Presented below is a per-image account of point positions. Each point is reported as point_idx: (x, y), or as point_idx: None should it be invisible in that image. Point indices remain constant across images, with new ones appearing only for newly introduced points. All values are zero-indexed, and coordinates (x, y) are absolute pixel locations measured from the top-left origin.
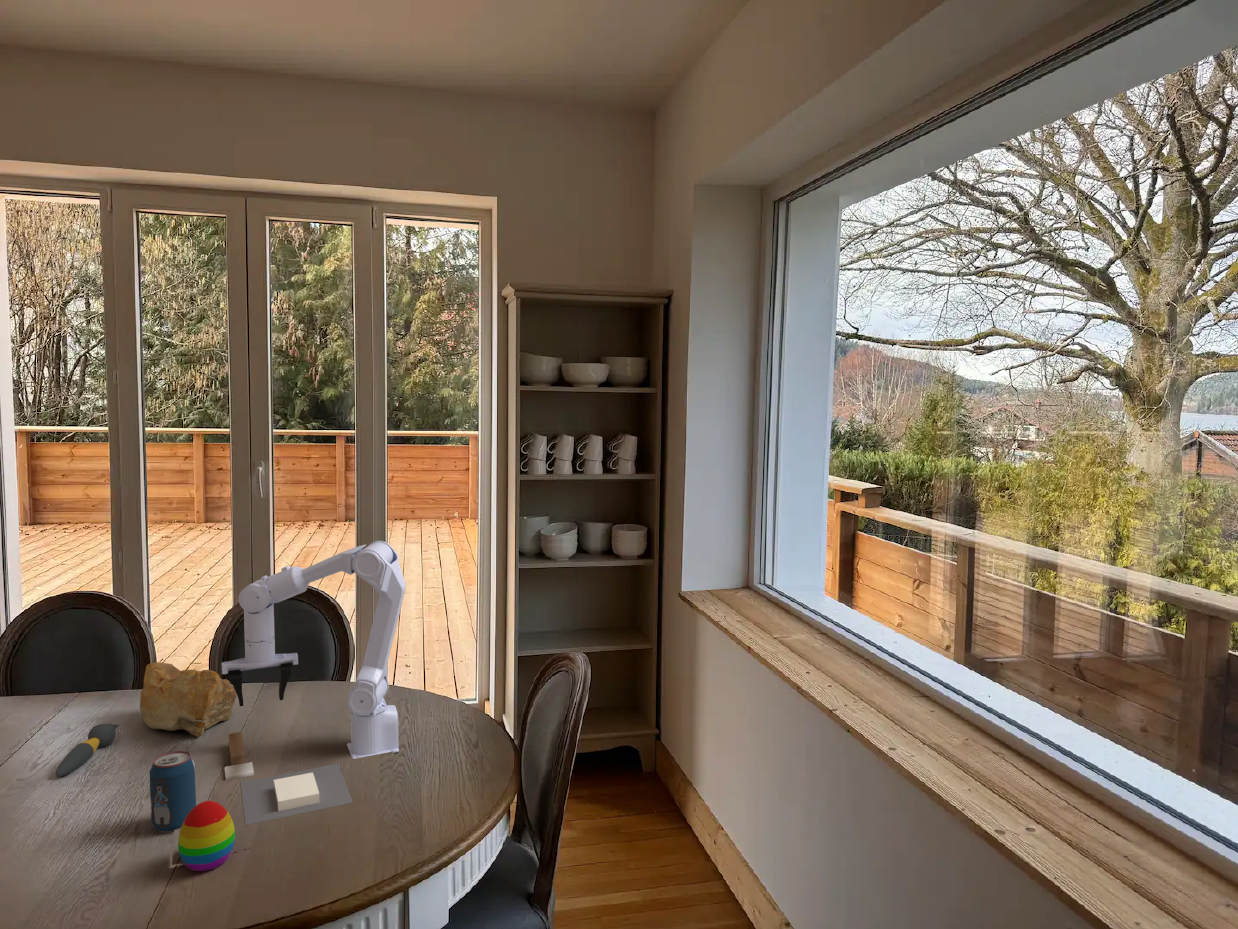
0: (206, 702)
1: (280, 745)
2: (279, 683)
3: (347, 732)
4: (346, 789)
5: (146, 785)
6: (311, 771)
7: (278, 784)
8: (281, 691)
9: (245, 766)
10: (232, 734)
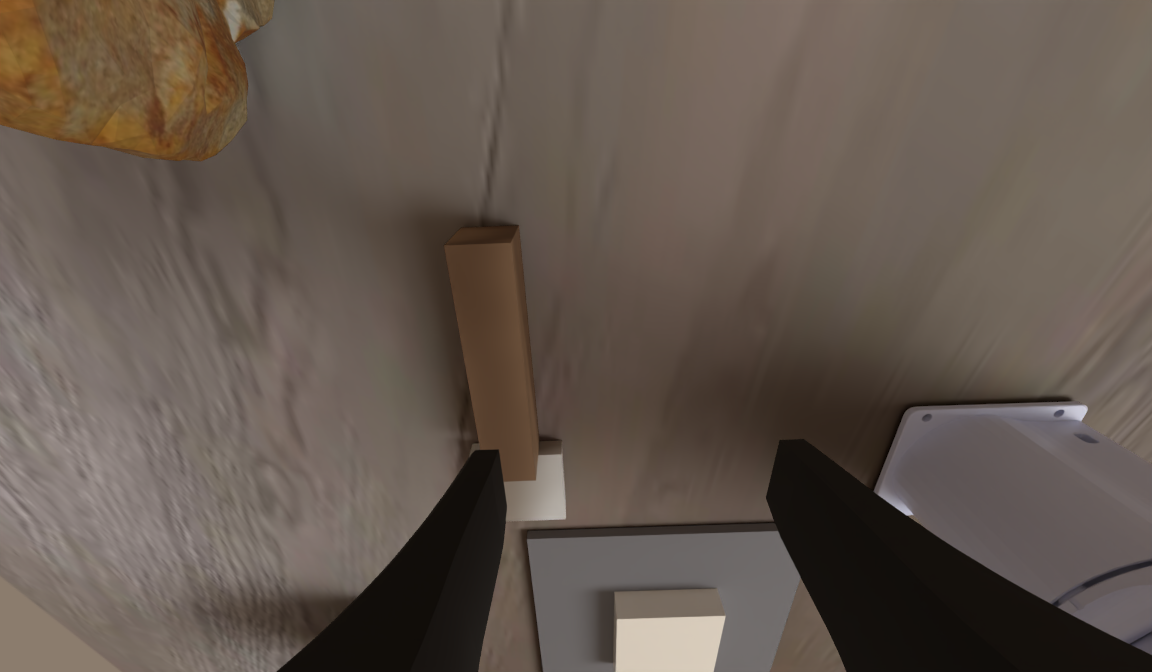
0: (140, 154)
1: (681, 300)
2: (858, 541)
3: (980, 277)
4: (777, 636)
5: (227, 442)
6: (729, 545)
7: (626, 639)
8: (812, 581)
9: (539, 478)
10: (466, 262)
